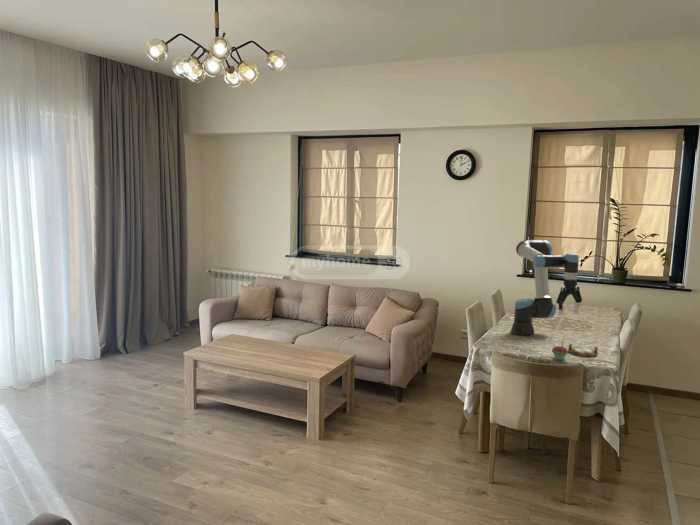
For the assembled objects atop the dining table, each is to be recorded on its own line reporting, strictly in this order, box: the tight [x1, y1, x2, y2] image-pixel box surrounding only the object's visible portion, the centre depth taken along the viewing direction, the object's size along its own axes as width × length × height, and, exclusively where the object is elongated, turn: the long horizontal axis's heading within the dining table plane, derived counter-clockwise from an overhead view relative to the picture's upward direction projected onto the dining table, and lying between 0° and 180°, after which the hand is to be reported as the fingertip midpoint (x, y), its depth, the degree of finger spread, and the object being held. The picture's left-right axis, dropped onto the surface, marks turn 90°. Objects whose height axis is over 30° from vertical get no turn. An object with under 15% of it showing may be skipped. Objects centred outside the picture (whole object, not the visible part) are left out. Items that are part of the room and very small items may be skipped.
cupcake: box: [551, 338, 569, 361], centre depth 301 cm, size 9×8×12 cm
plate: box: [567, 343, 599, 358], centre depth 313 cm, size 16×16×4 cm
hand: (568, 313), depth 319 cm, fingers open, 13 cm apart
